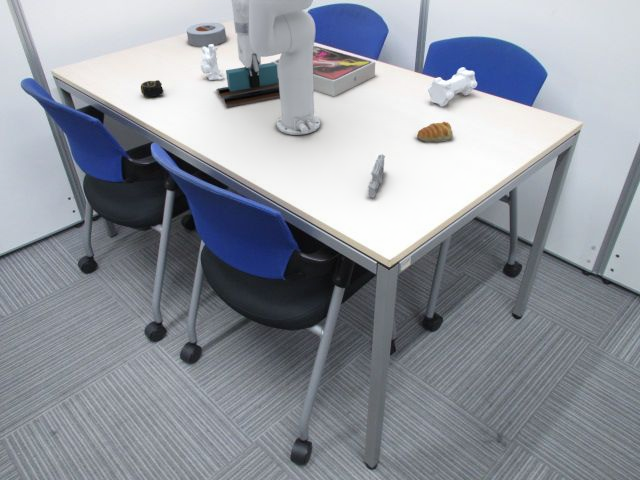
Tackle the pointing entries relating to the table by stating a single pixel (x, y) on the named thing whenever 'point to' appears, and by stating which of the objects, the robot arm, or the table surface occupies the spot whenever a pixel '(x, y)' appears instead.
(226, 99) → the holder board
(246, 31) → the robot arm
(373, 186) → the garden wall model
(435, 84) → the bone shaped toy
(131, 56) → the table surface
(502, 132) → the table surface
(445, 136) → the pastry
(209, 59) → the white animal statuette
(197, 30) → the tape roll
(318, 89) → the product packaging
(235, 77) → the teal bar
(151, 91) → the tape measure
